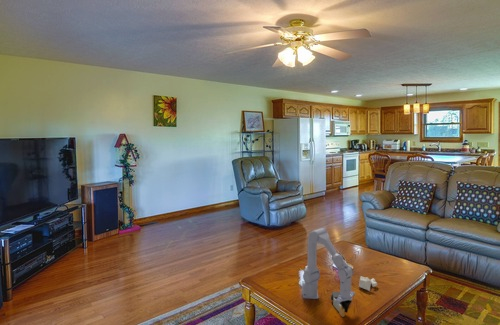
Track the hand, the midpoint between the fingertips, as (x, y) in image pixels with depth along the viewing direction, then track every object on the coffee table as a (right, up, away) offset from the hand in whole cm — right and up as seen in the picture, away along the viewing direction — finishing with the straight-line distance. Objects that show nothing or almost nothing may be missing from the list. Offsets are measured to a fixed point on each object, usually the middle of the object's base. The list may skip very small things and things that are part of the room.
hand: (345, 311), depth 167 cm
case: (+1, 0, +12) cm, 12 cm away
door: (-3, -1, +4) cm, 5 cm away
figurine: (+18, +5, +24) cm, 31 cm away
